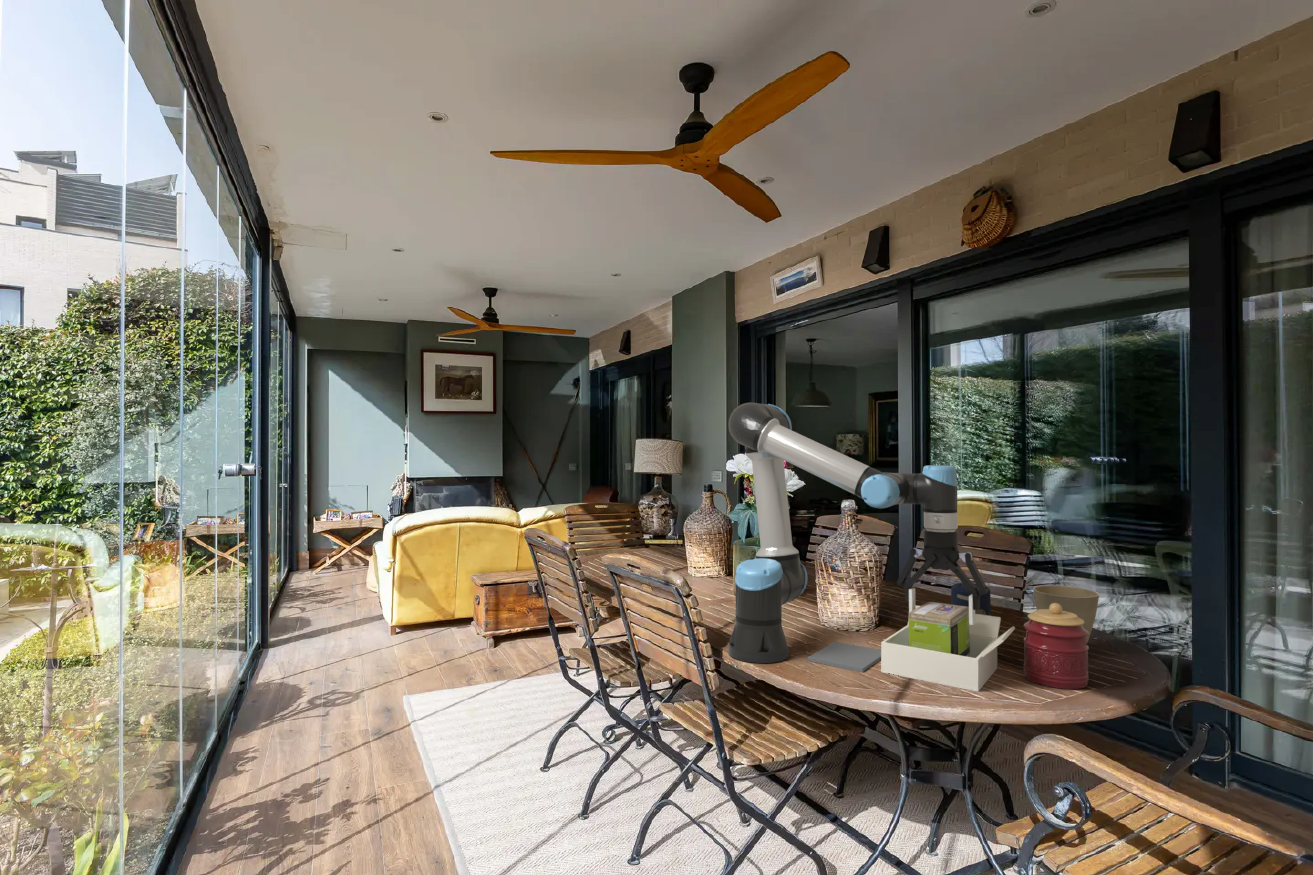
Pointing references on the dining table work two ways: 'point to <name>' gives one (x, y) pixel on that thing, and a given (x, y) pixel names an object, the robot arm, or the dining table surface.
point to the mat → (847, 656)
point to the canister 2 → (1056, 649)
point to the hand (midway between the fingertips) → (941, 619)
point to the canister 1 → (962, 598)
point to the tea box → (940, 628)
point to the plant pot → (1069, 602)
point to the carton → (947, 657)
